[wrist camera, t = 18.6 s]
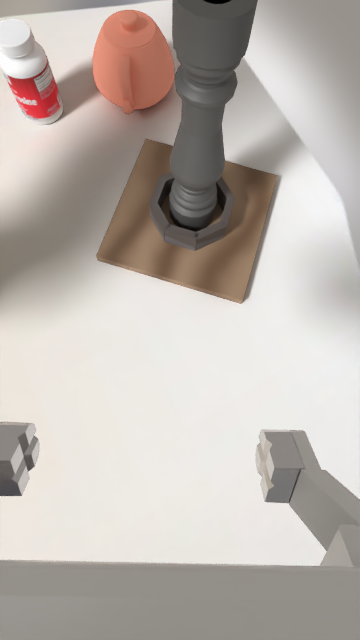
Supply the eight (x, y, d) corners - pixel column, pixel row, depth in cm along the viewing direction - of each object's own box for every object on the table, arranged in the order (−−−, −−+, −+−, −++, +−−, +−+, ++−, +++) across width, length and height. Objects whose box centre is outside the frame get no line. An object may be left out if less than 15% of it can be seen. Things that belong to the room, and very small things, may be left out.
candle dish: (98, 260, 45) (91, 245, 41) (146, 144, 50) (144, 121, 46) (241, 303, 44) (248, 292, 40) (274, 181, 49) (284, 160, 45)
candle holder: (206, 188, 47) (244, -49, 23) (220, 225, 45) (276, 13, 21) (164, 198, 46) (157, -35, 22) (176, 236, 45) (184, 31, 21)
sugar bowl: (177, 64, 55) (179, -13, 45) (168, 132, 51) (168, 65, 41) (104, 56, 55) (89, -23, 45) (89, 124, 51) (69, 55, 41)
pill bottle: (15, 112, 51) (-26, 33, 40) (43, 88, 52) (11, 6, 42) (44, 133, 50) (11, 58, 39) (72, 108, 51) (47, 29, 41)
